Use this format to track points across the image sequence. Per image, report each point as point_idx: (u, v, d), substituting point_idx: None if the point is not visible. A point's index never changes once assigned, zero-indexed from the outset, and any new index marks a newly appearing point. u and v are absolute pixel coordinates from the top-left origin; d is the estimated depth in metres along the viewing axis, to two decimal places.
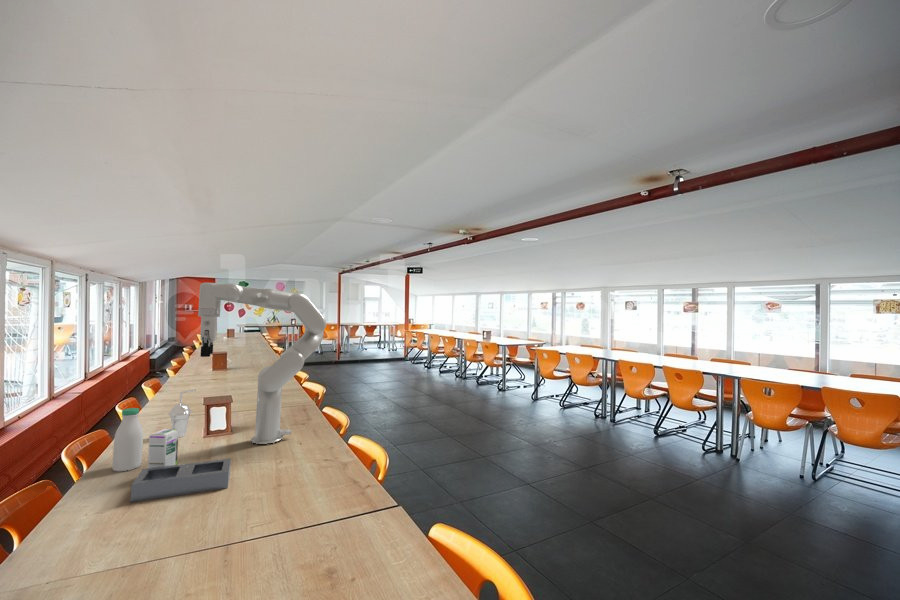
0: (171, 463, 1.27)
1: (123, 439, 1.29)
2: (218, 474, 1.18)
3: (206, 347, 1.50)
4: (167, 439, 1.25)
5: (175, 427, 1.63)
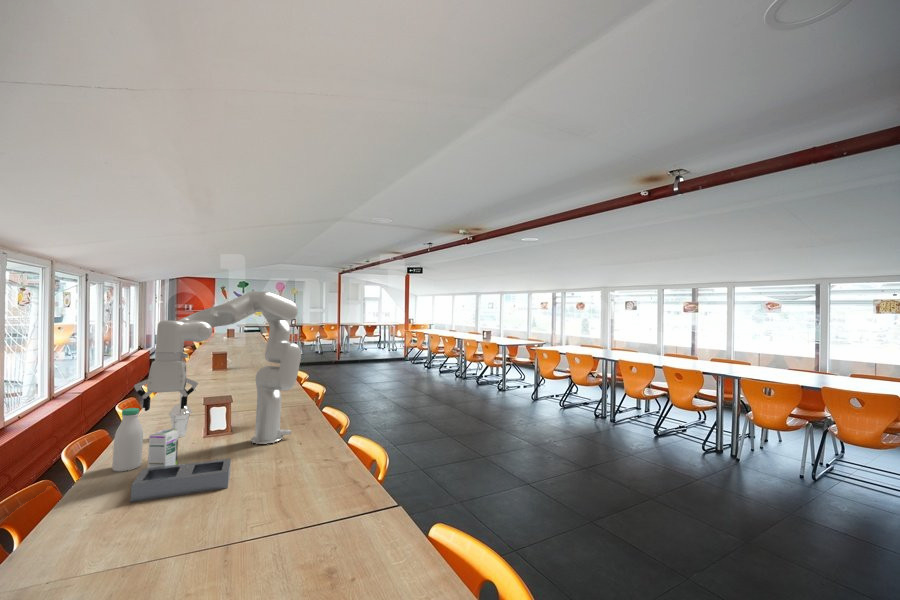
0: (171, 463, 1.27)
1: (123, 439, 1.29)
2: (218, 474, 1.18)
3: (187, 396, 1.30)
4: (167, 439, 1.25)
5: (175, 427, 1.63)
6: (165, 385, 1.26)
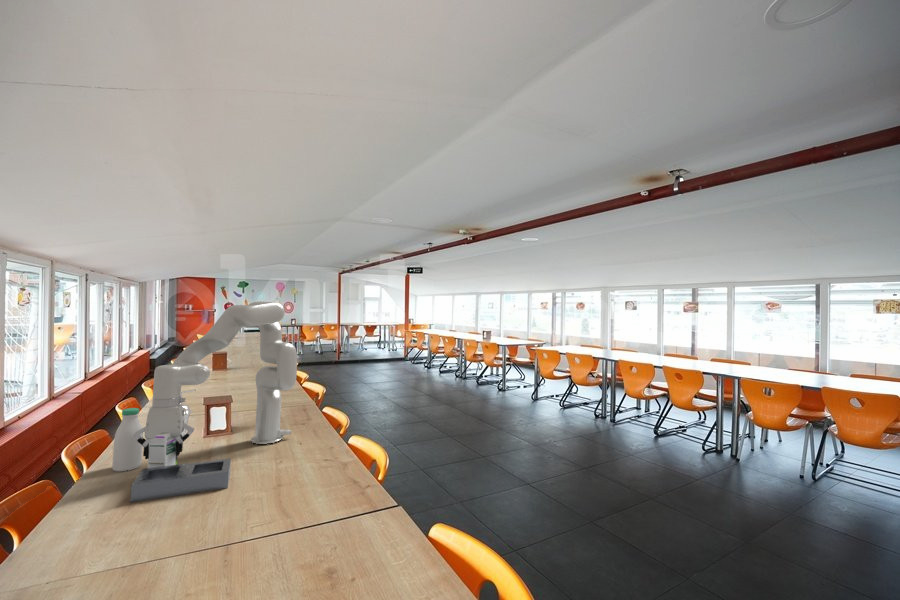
0: (171, 463, 1.27)
1: (123, 439, 1.29)
2: (218, 474, 1.18)
3: (182, 442, 1.29)
4: (167, 439, 1.25)
5: None
6: (163, 431, 1.25)
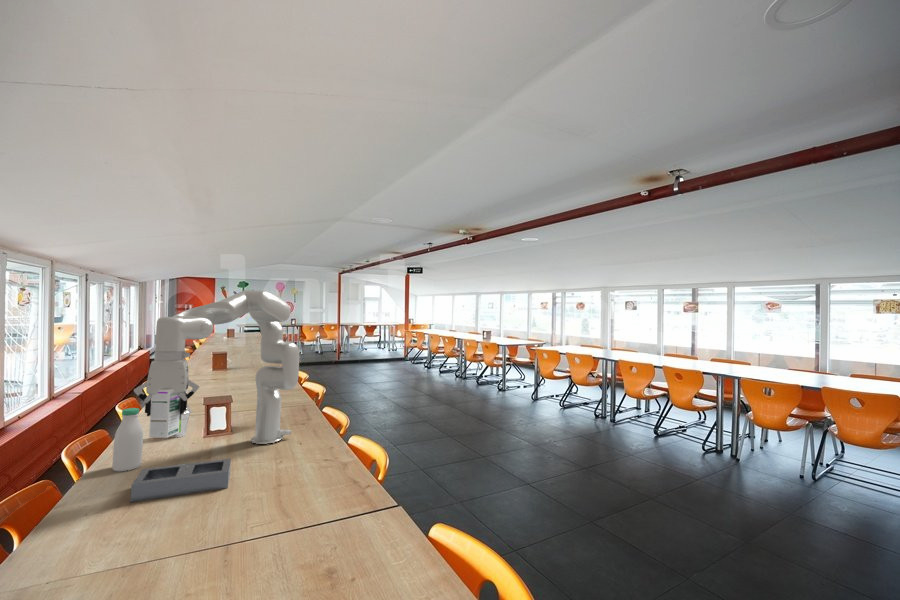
0: (174, 422, 1.18)
1: (123, 439, 1.29)
2: (218, 474, 1.18)
3: (186, 400, 1.21)
4: (170, 395, 1.16)
5: None
6: (166, 386, 1.16)
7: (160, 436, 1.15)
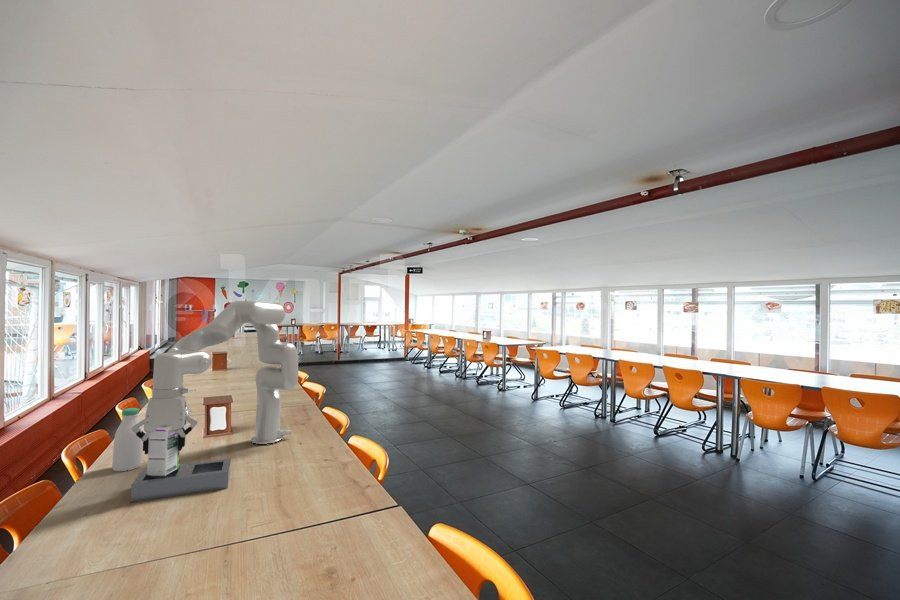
0: (172, 459, 1.17)
1: (123, 439, 1.29)
2: (218, 474, 1.18)
3: None
4: (168, 432, 1.15)
5: None
6: (164, 424, 1.16)
7: (158, 474, 1.14)
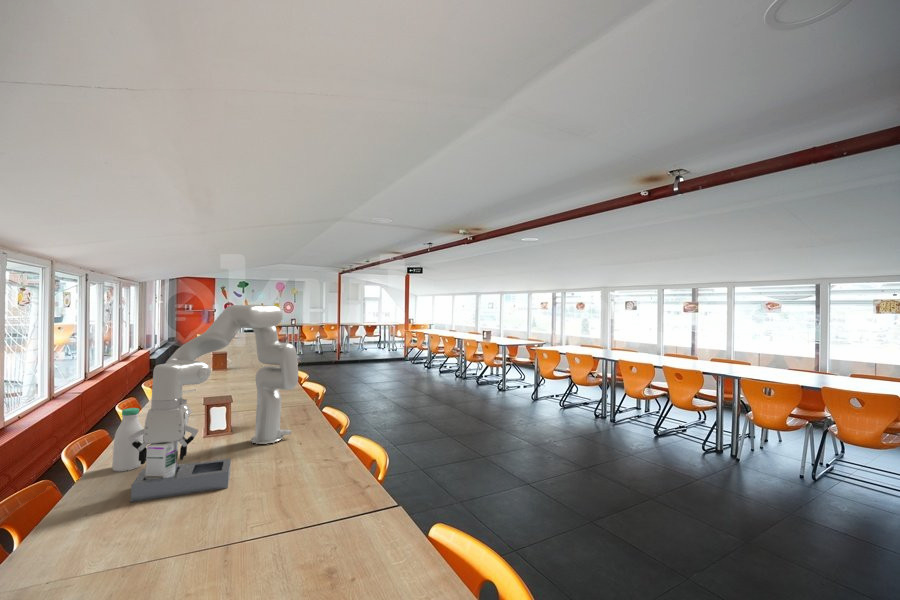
0: (170, 476, 1.17)
1: (123, 439, 1.29)
2: (218, 474, 1.18)
3: (186, 445, 1.20)
4: (166, 450, 1.15)
5: None
6: (163, 435, 1.15)
7: None
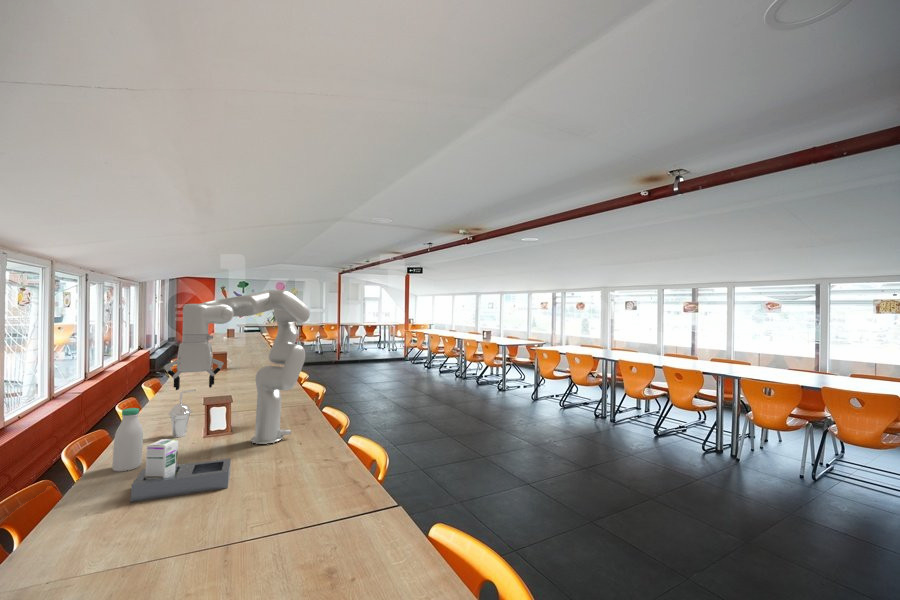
0: (170, 476, 1.17)
1: (123, 439, 1.29)
2: (218, 474, 1.18)
3: None
4: (166, 450, 1.15)
5: (175, 427, 1.63)
6: (194, 365, 1.31)
7: None
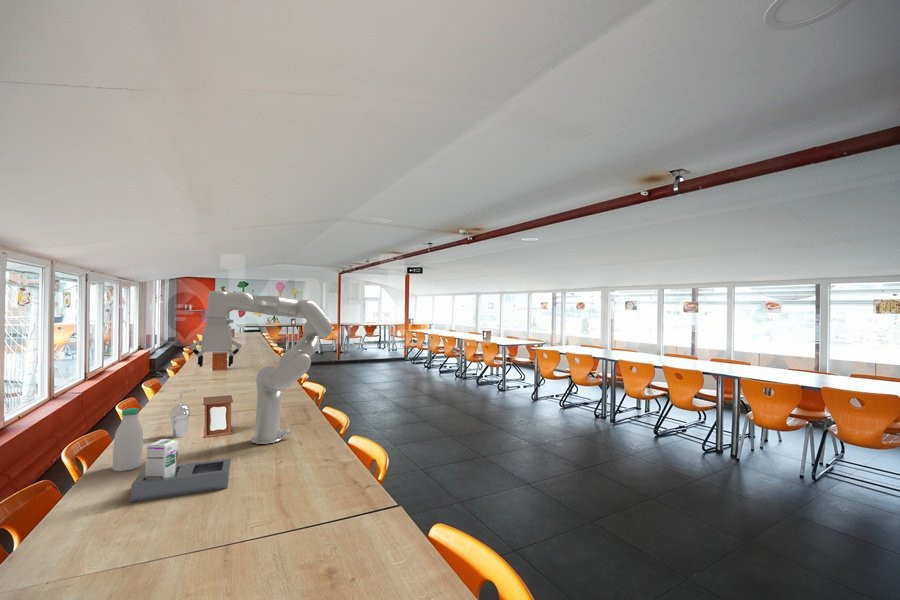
0: (170, 476, 1.17)
1: (123, 439, 1.29)
2: (218, 474, 1.18)
3: None
4: (166, 450, 1.15)
5: (175, 427, 1.63)
6: (216, 345, 1.48)
7: None
